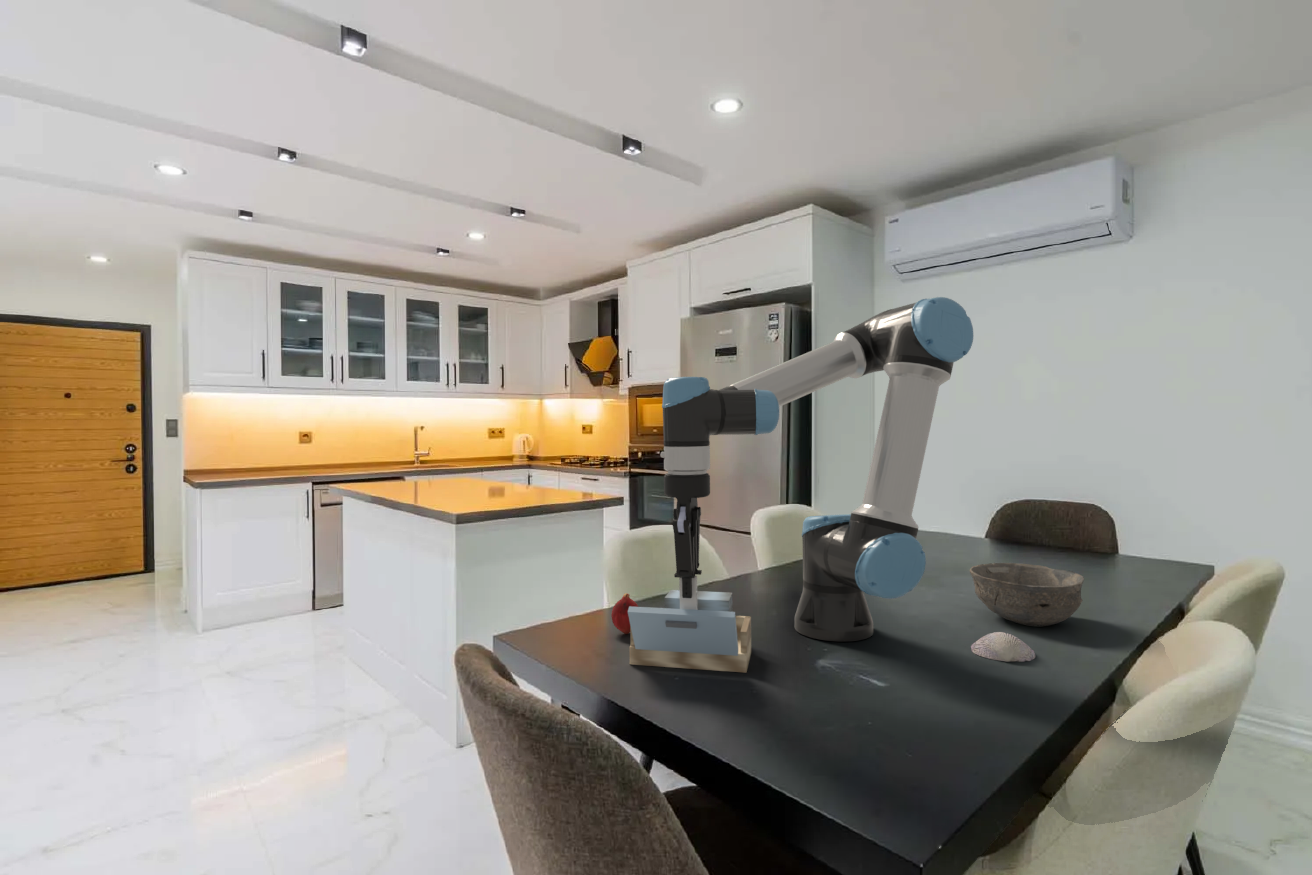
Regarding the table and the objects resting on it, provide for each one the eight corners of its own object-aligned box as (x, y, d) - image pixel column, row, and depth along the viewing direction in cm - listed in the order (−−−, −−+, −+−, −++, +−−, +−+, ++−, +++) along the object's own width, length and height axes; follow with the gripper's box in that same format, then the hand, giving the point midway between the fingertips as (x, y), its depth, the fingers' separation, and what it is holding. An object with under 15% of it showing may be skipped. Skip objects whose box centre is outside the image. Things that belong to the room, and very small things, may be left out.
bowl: (973, 629, 128) (973, 579, 128) (966, 603, 148) (966, 559, 147) (1097, 641, 121) (1097, 588, 121) (1072, 612, 140) (1072, 566, 140)
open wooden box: (753, 640, 123) (753, 593, 123) (746, 672, 107) (745, 618, 107) (651, 634, 128) (651, 588, 128) (629, 664, 111) (628, 612, 111)
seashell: (975, 644, 111) (967, 616, 121) (975, 673, 112) (967, 642, 122) (1042, 648, 108) (1029, 619, 117) (1042, 678, 109) (1028, 646, 118)
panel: (738, 649, 108) (735, 611, 103) (737, 658, 106) (734, 619, 101) (636, 643, 111) (629, 606, 107) (634, 651, 110) (626, 614, 105)
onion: (637, 639, 125) (636, 597, 125) (608, 637, 126) (607, 596, 126) (643, 630, 130) (643, 590, 130) (615, 628, 132) (615, 589, 132)
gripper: (672, 469, 113) (674, 603, 113) (655, 475, 100) (657, 626, 101) (715, 469, 111) (716, 605, 112) (703, 475, 99) (705, 629, 99)
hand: (688, 615), depth 106 cm, fingers closed
